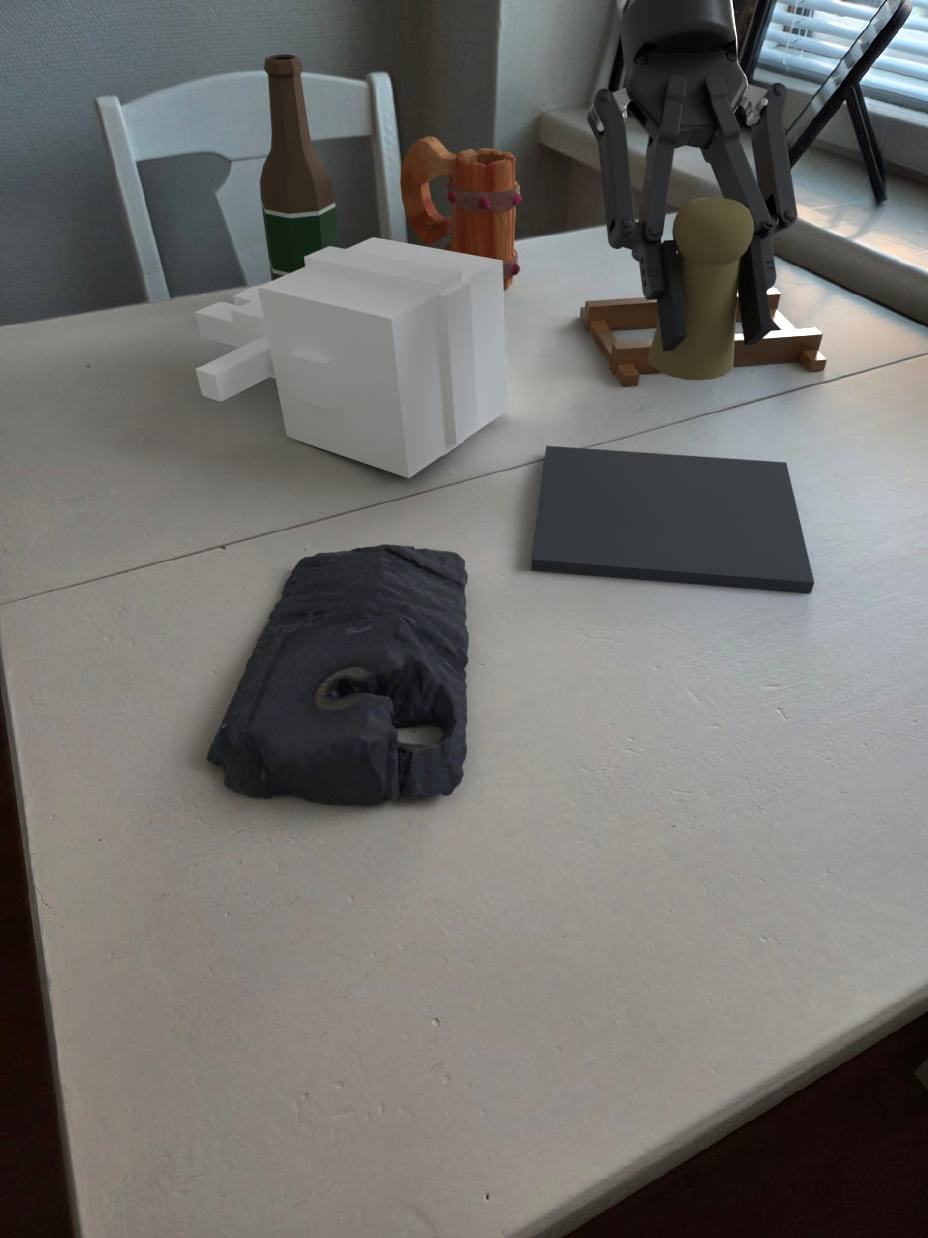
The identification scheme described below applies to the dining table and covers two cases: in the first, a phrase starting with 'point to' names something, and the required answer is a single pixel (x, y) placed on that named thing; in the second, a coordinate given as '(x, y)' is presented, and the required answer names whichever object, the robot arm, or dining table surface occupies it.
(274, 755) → the folded black garment
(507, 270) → the mug
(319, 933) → the dining table surface
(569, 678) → the dining table surface
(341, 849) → the dining table surface
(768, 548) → the mat
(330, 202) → the beer bottle
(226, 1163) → the dining table surface
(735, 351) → the rack
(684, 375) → the olive pawn
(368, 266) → the white voxel figure
